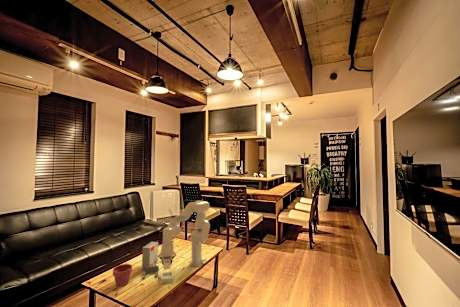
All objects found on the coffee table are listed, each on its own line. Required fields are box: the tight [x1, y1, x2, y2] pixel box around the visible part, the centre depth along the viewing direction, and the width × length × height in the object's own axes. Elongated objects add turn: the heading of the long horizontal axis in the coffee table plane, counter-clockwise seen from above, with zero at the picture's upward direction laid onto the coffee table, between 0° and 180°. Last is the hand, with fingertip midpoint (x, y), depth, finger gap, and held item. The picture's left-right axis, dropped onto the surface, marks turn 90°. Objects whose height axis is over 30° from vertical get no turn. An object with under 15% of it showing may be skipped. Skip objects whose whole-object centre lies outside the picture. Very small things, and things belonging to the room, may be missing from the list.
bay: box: [142, 265, 160, 280], centre depth 191 cm, size 11×11×5 cm
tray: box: [160, 271, 174, 284], centre depth 185 cm, size 10×11×3 cm
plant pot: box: [112, 263, 133, 288], centre depth 178 cm, size 14×14×13 cm
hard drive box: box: [141, 241, 159, 271], centre depth 207 cm, size 16×8×20 cm, turn 168°
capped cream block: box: [162, 257, 172, 271], centre depth 185 cm, size 6×8×8 cm
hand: (167, 264), depth 185 cm, fingers closed on capped cream block, 5 cm apart
